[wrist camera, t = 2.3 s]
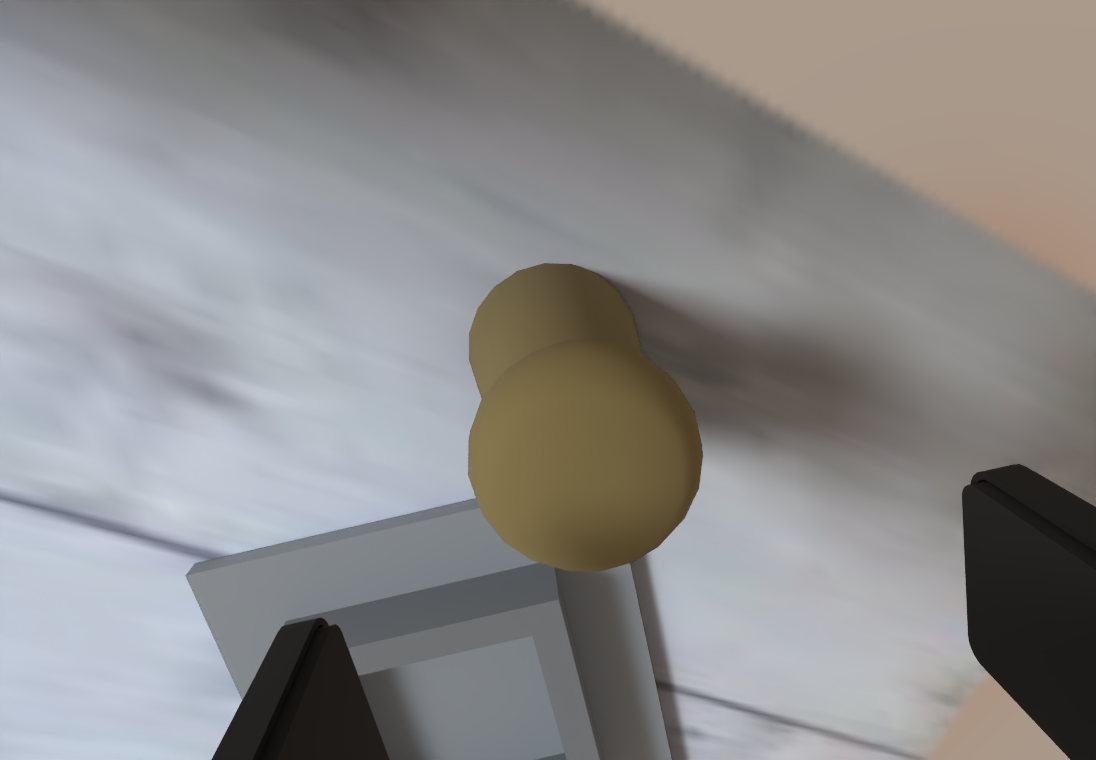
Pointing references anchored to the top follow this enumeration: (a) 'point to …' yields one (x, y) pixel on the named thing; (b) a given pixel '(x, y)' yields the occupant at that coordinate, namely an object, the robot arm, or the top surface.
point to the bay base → (454, 637)
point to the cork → (575, 424)
